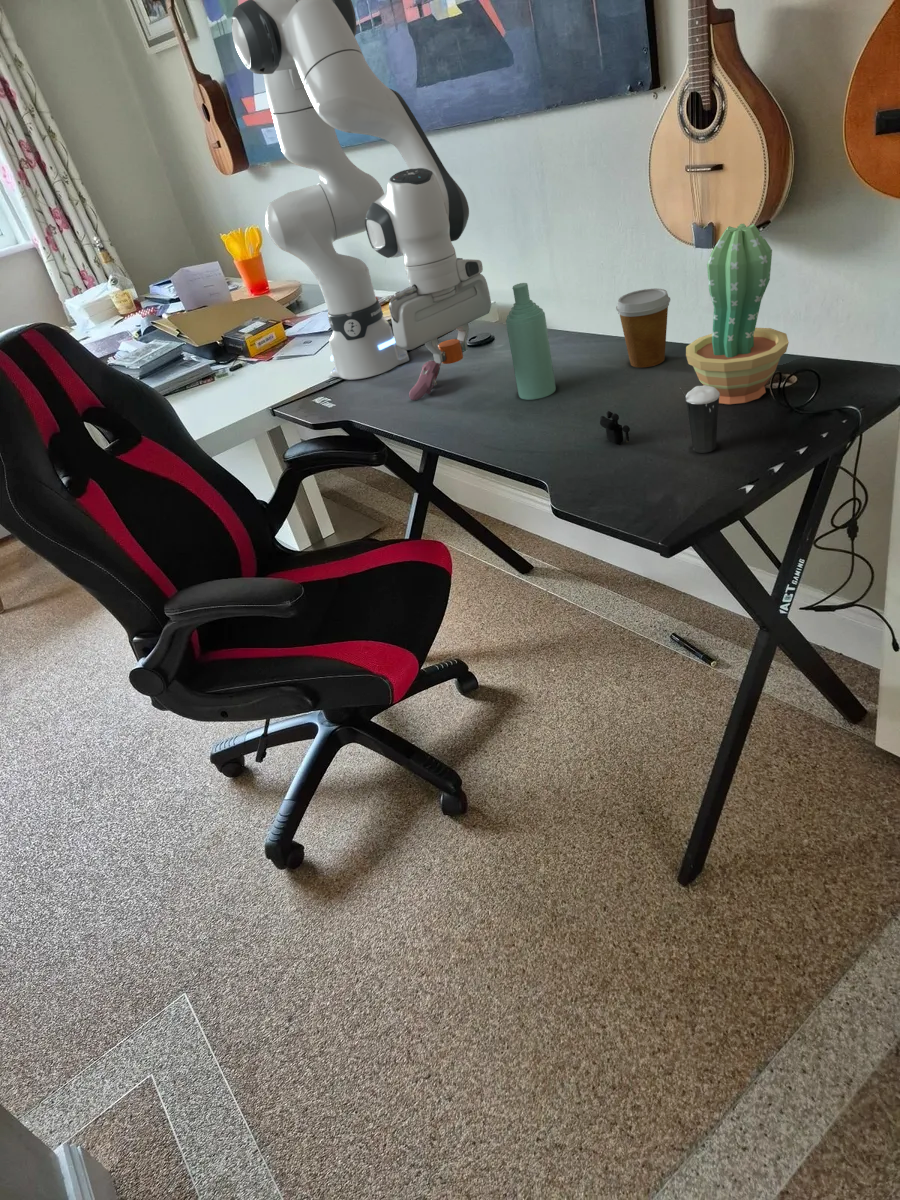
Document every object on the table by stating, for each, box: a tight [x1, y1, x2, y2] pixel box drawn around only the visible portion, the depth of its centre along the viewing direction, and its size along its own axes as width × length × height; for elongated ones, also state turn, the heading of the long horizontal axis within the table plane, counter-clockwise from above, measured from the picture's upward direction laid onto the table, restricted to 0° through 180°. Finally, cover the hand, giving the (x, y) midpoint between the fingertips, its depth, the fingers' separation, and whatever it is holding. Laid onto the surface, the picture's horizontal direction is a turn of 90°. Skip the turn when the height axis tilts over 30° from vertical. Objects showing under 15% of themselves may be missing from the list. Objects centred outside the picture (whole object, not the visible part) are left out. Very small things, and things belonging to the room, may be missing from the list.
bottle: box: [505, 282, 557, 401], centre depth 140 cm, size 7×7×20 cm
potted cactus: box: [685, 223, 790, 405], centre depth 119 cm, size 15×15×25 cm
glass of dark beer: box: [679, 384, 720, 454], centre depth 110 cm, size 5×5×10 cm
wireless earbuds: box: [599, 410, 631, 445], centre depth 119 cm, size 7×2×5 cm, turn 28°
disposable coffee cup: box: [615, 288, 671, 369], centre depth 142 cm, size 10×10×12 cm
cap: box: [437, 338, 464, 365], centre depth 139 cm, size 4×4×3 cm
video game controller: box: [408, 359, 442, 401], centre depth 157 cm, size 10×5×7 cm, turn 168°
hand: (451, 356), depth 139 cm, fingers closed on cap, 4 cm apart
